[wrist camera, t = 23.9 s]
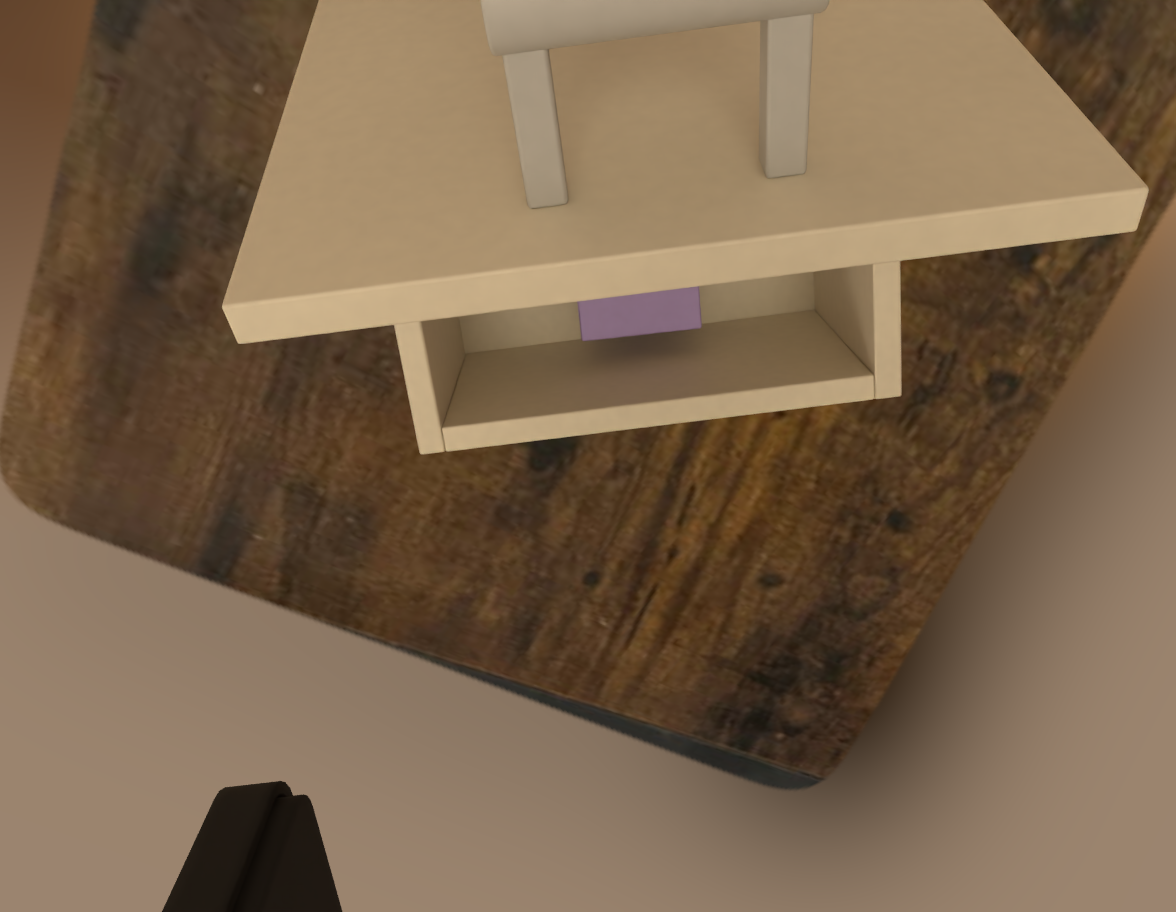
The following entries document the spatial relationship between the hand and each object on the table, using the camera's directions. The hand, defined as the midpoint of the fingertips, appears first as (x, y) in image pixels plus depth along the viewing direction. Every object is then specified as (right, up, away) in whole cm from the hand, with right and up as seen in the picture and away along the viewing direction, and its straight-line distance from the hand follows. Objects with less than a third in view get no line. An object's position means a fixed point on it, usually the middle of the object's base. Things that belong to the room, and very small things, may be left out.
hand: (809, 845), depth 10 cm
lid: (-1, +11, +12) cm, 16 cm away
